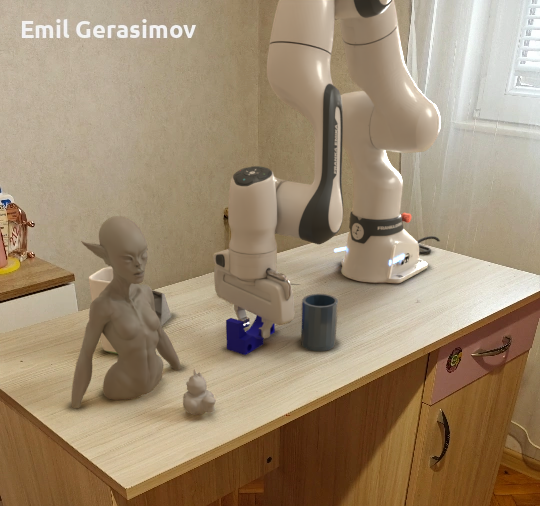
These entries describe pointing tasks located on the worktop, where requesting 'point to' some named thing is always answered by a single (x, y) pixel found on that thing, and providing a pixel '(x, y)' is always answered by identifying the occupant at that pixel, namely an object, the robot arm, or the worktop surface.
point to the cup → (97, 285)
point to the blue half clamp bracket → (244, 335)
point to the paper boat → (161, 307)
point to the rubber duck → (198, 396)
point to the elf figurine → (124, 319)
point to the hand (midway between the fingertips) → (253, 331)
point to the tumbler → (319, 322)
